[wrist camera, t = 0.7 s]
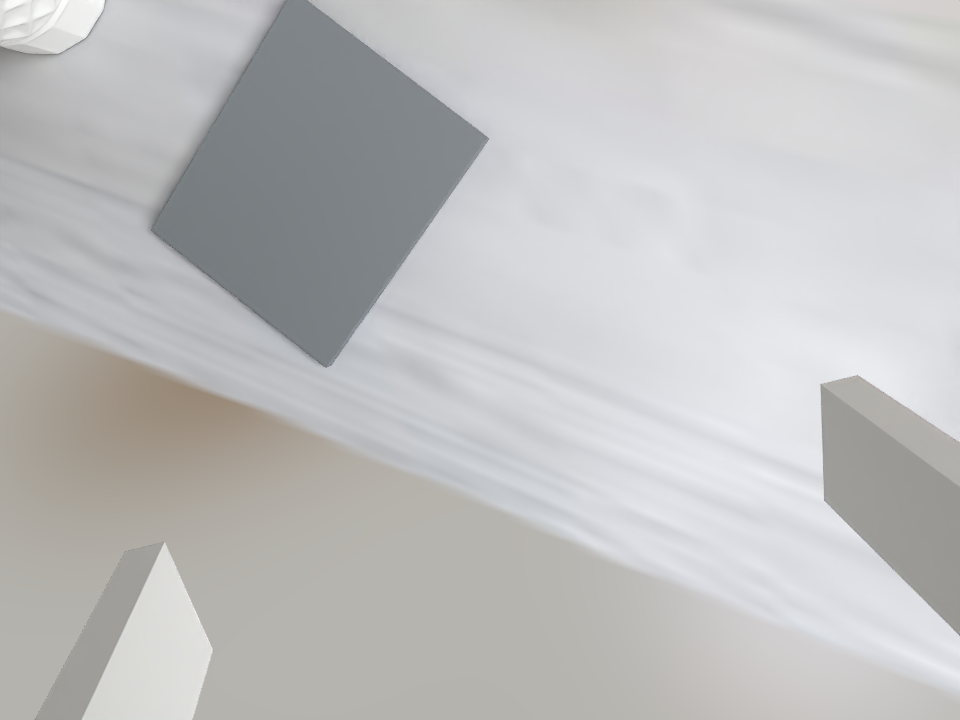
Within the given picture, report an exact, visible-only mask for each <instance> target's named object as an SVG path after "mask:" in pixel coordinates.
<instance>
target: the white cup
mask: <svg viewBox="0 0 960 720" xmlns="http://www.w3.org/2000/svg"><path fill="white" fill-rule="evenodd" d="M104 5H105V0H0V47H4V48H8V49H12V50H16V51H19V52H23V53H28V54H59V53H61V52H63V51H65V50H66V49H68V48H70V47H71V46H73V45H75V44H76V43H78V42H80V41H82V40H83V39H85V38H86V37H87V35H88V34H89V32H90V31H91V29H92V28H93V26H94V24H95V23H96V21H97V19H98V18H99V16H100V15H101V13H102V11H103V10H104Z"/></svg>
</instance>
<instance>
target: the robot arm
mask: <svg viewBox="0 0 960 720" xmlns="http://www.w3.org/2000/svg"><path fill="white" fill-rule="evenodd" d="M821 413H822V444H823V476H824V501H825V502H826V503H827V504H828V505H829V506H830V507H831V508H832V509H833V510H834V511H835V512H836V513H837V514H838V515H839V516H840V517H841V518H842V519H843V520H844V521H845V522H846V523H847V524H848V525H849V526H850V527H851V528H852V529H853V530H854V531H855V532H856V533H857V534H858V535H859V536H860V537H861V538H862V539H863V540H864V541H865V542H866V543H867V544H868V545H869V546H870V547H871V548H872V549H873V550H874V551H875V552H876V553H877V554H878V555H879V556H880V557H881V558H882V559H883V560H884V561H885V562H886V563H887V564H888V565H889V566H890V567H891V568H892V569H893V570H894V571H895V572H896V573H897V574H898V575H899V576H900V577H901V578H902V579H903V580H904V581H905V582H906V583H907V584H908V585H909V586H910V587H912V588H913V589H914V590H915V591H916V592H917V593H918V594H919V595H920V596H921V597H922V598H923V599H924V600H925V601H926V602H927V603H928V604H929V605H930V606H931V607H932V608H933V609H934V610H935V611H936V612H937V613H938V614H939V615H940V616H941V617H942V618H943V619H944V620H945V621H946V622H947V623H948V624H949V625H950V626H951V627H952V628H953V629H954V630H955V631H956V632H957V633H958V634H959V635H960V443H959V442H958V441H956V440H955V439H953V438H952V437H950V436H949V435H947V434H946V433H944V432H943V431H941V430H940V429H938V428H937V427H935V426H934V425H932V424H931V423H929V422H928V421H926V420H925V419H923V418H922V417H920V416H919V415H917V414H916V413H914V412H913V411H911V410H910V409H908V408H906V407H905V406H903V405H902V404H900V403H899V402H897V401H896V400H894V399H893V398H891V397H890V396H888V395H887V394H885V393H884V392H882V391H881V390H879V389H878V388H876V387H875V386H873V385H872V384H870V383H869V382H867V381H866V380H864V379H863V378H861V377H860V376H858V375H857V376H853V377H849V378H844V379H840V380H836V381H832V382H828V383H824V384H821ZM212 652H213V649H212V647H211V645H210V643H209V640H208V638H207V636H206V634H205V631H204V629H203V627H202V625H201V623H200V620H199V618H198V616H197V613H196V611H195V609H194V607H193V604H192V602H191V600H190V598H189V595H188V593H187V591H186V589H185V586H184V584H183V582H182V580H181V577H180V575H179V573H178V571H177V568H176V566H175V564H174V562H173V559H172V557H171V555H170V553H169V550H168V548H167V546H166V544H165V542H162V543H157V544H153V545H149V546H145V547H141V548H137V549H133V550H128V551H125V553H124V555H123V556H122V558H121V560H120V562H119V564H118V566H117V568H116V569H115V571H114V573H113V575H112V577H111V579H110V581H109V583H108V584H107V586H106V588H105V590H104V592H103V594H102V596H101V597H100V599H99V601H98V603H97V605H96V607H95V609H94V610H93V612H92V614H91V616H90V618H89V620H88V621H87V624H86V625H85V627H84V629H83V631H82V633H81V634H80V636H79V638H78V640H77V642H76V644H75V646H74V648H73V650H72V651H71V653H70V655H69V657H68V659H67V661H66V662H65V665H64V666H63V668H62V670H61V672H60V674H59V675H58V677H57V679H56V681H55V683H54V685H53V687H52V688H51V690H50V692H49V694H48V696H47V698H46V700H45V701H44V703H43V705H42V707H41V709H40V711H39V713H38V714H37V716H36V718H35V720H192V719H193V716H194V712H195V709H196V706H197V702H198V699H199V696H200V692H201V689H202V686H203V682H204V679H205V675H206V672H207V669H208V665H209V662H210V658H211V655H212Z"/></svg>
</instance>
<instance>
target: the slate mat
mask: <svg viewBox="0 0 960 720" xmlns="http://www.w3.org/2000/svg"><path fill="white" fill-rule="evenodd" d="M488 140H489V138H488V137H487V136H485V135H484V134H483V133H481V132H480V131H479V130H477V129H476V128H475V127H473V126H472V125H471V124H469V123H468V122H467V121H465V120H464V119H463V118H461V117H460V116H459V115H458V114H456V113H455V112H454V111H452V110H451V109H450V108H448V107H447V106H446V105H444V104H443V103H442V102H440V101H439V100H438V99H436V98H435V97H434V96H432V95H431V94H430V93H428V92H427V91H426V90H424V89H423V88H422V87H421V86H419V85H418V84H417V83H415V82H414V81H413V80H411V79H410V78H409V77H407V76H406V75H405V74H403V73H402V72H401V71H399V70H398V69H397V68H395V67H394V66H393V65H391V64H390V63H389V62H387V61H386V60H385V59H384V58H382V57H381V56H380V55H378V54H377V53H376V52H374V51H373V50H372V49H370V48H369V47H368V46H366V45H365V44H364V43H362V42H361V41H360V40H358V39H357V38H356V37H354V36H353V35H352V34H350V33H349V32H348V31H347V30H345V29H344V28H343V27H341V26H340V25H339V24H337V23H336V22H335V21H333V20H332V19H331V18H329V17H328V16H327V15H325V14H324V13H323V12H321V11H320V10H319V9H317V8H316V7H315V6H314V5H312V4H311V3H310V2H308V1H307V0H287V2H286V3H285V5H284V7H283V8H282V10H281V12H280V13H279V15H278V17H277V18H276V20H275V22H274V23H273V25H272V27H271V28H270V30H269V32H268V34H267V35H266V37H265V39H264V40H263V42H262V44H261V45H260V47H259V49H258V50H257V52H256V54H255V55H254V57H253V59H252V60H251V62H250V64H249V66H248V67H247V69H246V71H245V72H244V74H243V76H242V77H241V79H240V81H239V82H238V84H237V86H236V87H235V89H234V91H233V93H232V94H231V96H230V98H229V99H228V101H227V103H226V104H225V106H224V108H223V109H222V111H221V113H220V114H219V116H218V118H217V119H216V121H215V123H214V125H213V126H212V128H211V130H210V131H209V133H208V135H207V136H206V138H205V140H204V141H203V143H202V145H201V146H200V148H199V150H198V151H197V153H196V155H195V157H194V158H193V160H192V162H191V163H190V165H189V167H188V168H187V170H186V172H185V173H184V175H183V177H182V178H181V180H180V182H179V184H178V185H177V187H176V189H175V190H174V192H173V194H172V195H171V197H170V199H169V200H168V202H167V204H166V205H165V207H164V209H163V210H162V212H161V214H160V216H159V217H158V219H157V221H156V222H155V224H154V226H153V227H152V229H151V231H153V232H154V233H155V234H156V235H158V236H159V237H160V238H161V239H163V240H164V241H165V242H167V243H168V244H169V245H170V246H172V247H173V248H174V249H175V250H177V251H178V252H179V253H181V254H182V255H183V256H184V257H186V258H187V259H188V260H189V261H191V262H192V263H193V264H195V265H196V266H197V267H198V268H200V269H201V270H202V271H203V272H205V273H206V274H207V275H209V276H210V277H211V278H212V279H214V280H215V281H216V282H217V283H219V284H220V285H221V286H223V287H224V288H225V289H226V290H228V291H229V292H230V293H231V294H233V295H234V296H235V297H237V298H238V299H239V300H240V301H242V302H243V303H244V304H245V305H247V306H248V307H249V308H251V309H252V310H253V311H254V312H256V313H257V314H258V315H259V316H261V317H262V318H263V319H265V320H266V321H267V322H268V323H270V324H271V325H272V326H273V327H275V328H276V329H277V330H279V331H280V332H281V333H282V334H284V335H285V336H286V337H287V338H289V339H290V340H291V341H293V342H294V343H295V344H296V345H298V346H299V347H300V348H301V349H303V350H304V351H305V352H307V353H308V354H309V355H310V356H312V357H313V358H314V359H315V360H317V361H318V362H319V363H321V364H322V365H323V366H324V367H329V366H331V365H332V363H333V362H334V360H335V359H336V358H337V356H338V355H339V353H340V352H341V350H342V349H343V348H344V346H345V345H346V343H347V342H348V340H349V339H350V337H351V336H352V335H353V333H354V332H355V330H356V329H357V327H358V326H359V325H360V323H361V322H362V320H363V319H364V317H365V316H366V315H367V313H368V312H369V310H370V309H371V307H372V306H373V305H374V303H375V302H376V300H377V299H378V297H379V296H380V295H381V293H382V292H383V290H384V289H385V287H386V286H387V285H388V283H389V282H390V280H391V279H392V277H393V276H394V275H395V273H396V272H397V270H398V269H399V267H400V266H401V264H402V263H403V262H404V260H405V259H406V257H407V256H408V254H409V253H410V252H411V250H412V249H413V247H414V246H415V244H416V243H417V242H418V240H419V239H420V237H421V236H422V234H423V233H424V232H425V230H426V229H427V227H428V226H429V224H430V223H431V222H432V220H433V219H434V217H435V216H436V214H437V213H438V212H439V210H440V209H441V207H442V206H443V204H444V203H445V201H446V200H447V199H448V197H449V196H450V194H451V193H452V191H453V190H454V189H455V187H456V186H457V184H458V183H459V181H460V180H461V179H462V177H463V176H464V174H465V173H466V171H467V170H468V169H469V167H470V166H471V164H472V163H473V161H474V160H475V159H476V157H477V156H478V154H479V153H480V151H481V150H482V149H483V147H484V146H485V144H486V143H487V141H488Z"/></svg>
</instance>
